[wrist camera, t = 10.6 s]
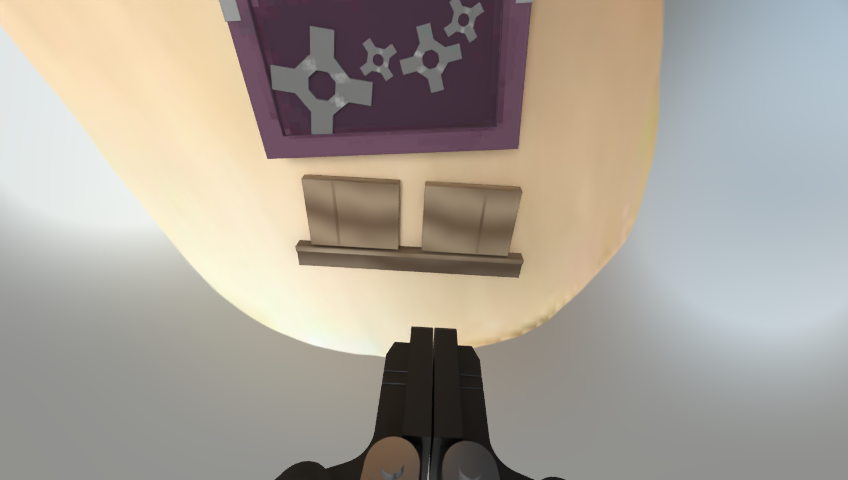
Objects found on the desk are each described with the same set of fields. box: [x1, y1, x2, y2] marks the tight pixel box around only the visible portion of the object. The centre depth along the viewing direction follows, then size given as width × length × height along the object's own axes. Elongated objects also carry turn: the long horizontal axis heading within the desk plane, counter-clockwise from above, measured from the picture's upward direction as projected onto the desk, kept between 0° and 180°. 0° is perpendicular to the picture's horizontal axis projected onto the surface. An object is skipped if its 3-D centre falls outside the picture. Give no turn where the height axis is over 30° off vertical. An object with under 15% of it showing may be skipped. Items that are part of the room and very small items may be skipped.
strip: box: [296, 240, 524, 278], centre depth 46 cm, size 3×29×2 cm, turn 87°
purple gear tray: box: [219, 0, 533, 159], centre depth 33 cm, size 25×16×5 cm, turn 93°
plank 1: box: [302, 175, 400, 249], centre depth 43 cm, size 9×11×1 cm
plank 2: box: [422, 182, 522, 256], centre depth 43 cm, size 9×11×1 cm
